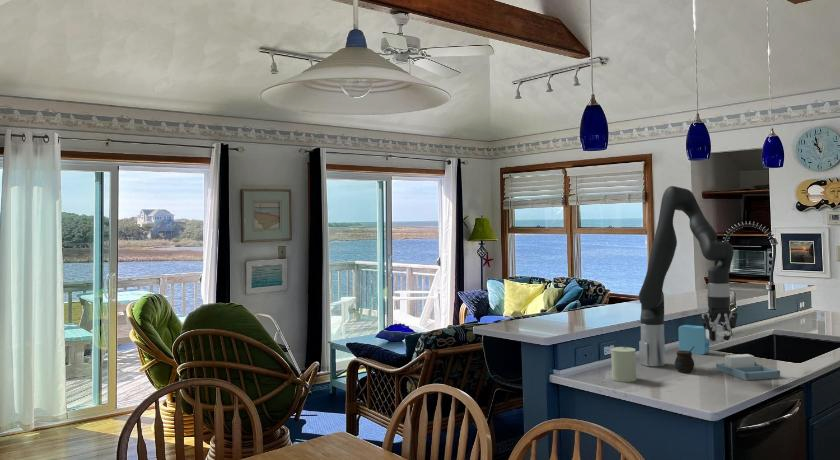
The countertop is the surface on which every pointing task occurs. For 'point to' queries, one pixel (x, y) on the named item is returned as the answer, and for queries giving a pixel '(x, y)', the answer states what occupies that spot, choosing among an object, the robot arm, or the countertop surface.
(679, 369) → the mate gourd
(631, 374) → the can
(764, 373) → the dock
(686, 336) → the light blue square block
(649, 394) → the countertop surface
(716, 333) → the power adapter
